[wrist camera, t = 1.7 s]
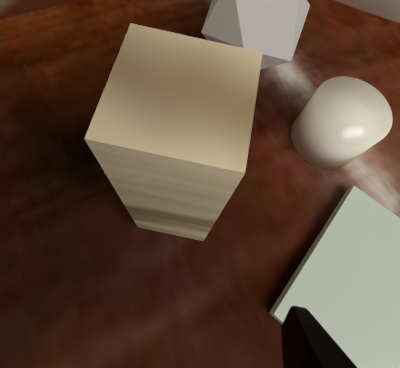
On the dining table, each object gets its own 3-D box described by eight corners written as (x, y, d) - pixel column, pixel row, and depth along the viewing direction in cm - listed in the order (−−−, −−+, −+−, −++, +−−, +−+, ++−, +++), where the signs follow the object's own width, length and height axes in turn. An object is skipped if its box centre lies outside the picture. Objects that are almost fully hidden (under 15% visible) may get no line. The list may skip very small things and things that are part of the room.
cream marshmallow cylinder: (336, 182, 23) (371, 159, 19) (277, 141, 24) (299, 110, 20) (366, 136, 25) (404, 106, 21) (311, 99, 26) (337, 64, 22)
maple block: (203, 240, 21) (245, 173, 8) (137, 227, 20) (84, 138, 8) (214, 180, 22) (262, 52, 10) (154, 167, 22) (130, 23, 10)
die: (294, 92, 27) (346, -27, 22) (240, 90, 21) (294, -72, 16) (234, 65, 31) (267, -39, 26) (176, 58, 26) (203, -78, 21)
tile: (424, 445, 17) (438, 454, 16) (268, 313, 19) (273, 314, 18) (481, 286, 21) (495, 286, 20) (346, 189, 23) (354, 185, 22)
